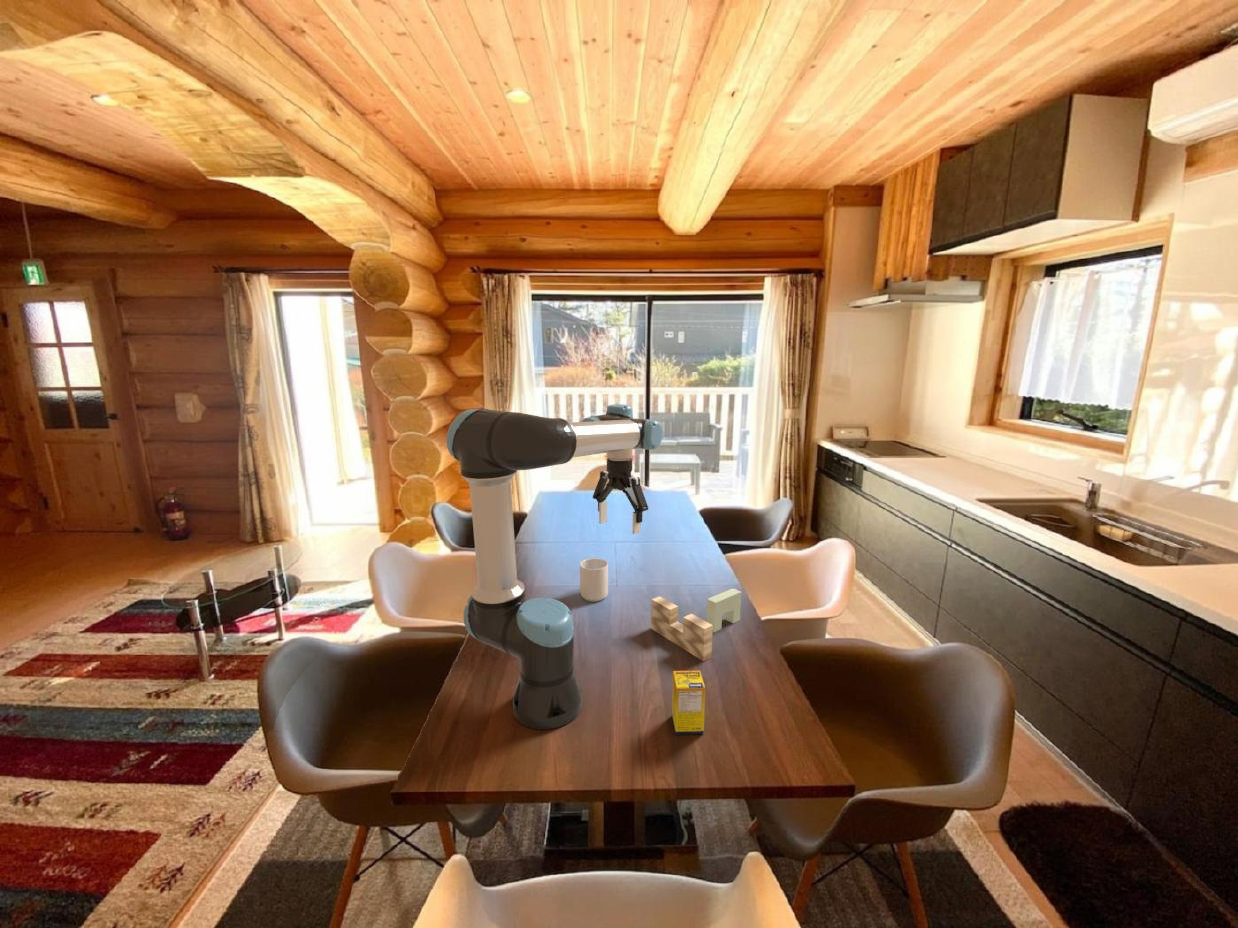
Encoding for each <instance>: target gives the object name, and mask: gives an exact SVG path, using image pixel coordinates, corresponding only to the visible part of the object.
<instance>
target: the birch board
mask: <svg viewBox="0 0 1238 928" xmlns="http://www.w3.org/2000/svg"><path fill="white" fill-rule="evenodd" d="M650 608H651V614H650V615H651V617H650V618H651V619H650V620H651V621H650V622H651V623H650V629H651V630H653V631H654V632H656V633H657V634H659V635H661V636H662V637H664V638H666V639H667V640H668V641H670V642H672V643H673V644H675V645H677V646H678V647H679V648H681V649H682V650H684V651H686V652H688V653H689V654H691V655H692V656H694V657H696V658H697V659H699V660H700V661H702V662H705V661H707V660H708V659H711V658H712V656H713V655H712V652H713V651H712V649H713V634H714V632H713V625H711V624H710V623H708V622H707V620H704V619H702V618H701V617H698V616H696V615H695V614H693V613H690V614H687V615H685V616H683V619H682V623H681V622H679V606H678V605H677V604H675V603H673V602H671V601H670V600H668V599H666V598H663V597H662V596H660V595H659V596H656V597H654V598H651V607H650Z"/></svg>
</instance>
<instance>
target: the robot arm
mask: <svg viewBox="0 0 1238 928" xmlns="http://www.w3.org/2000/svg"><path fill="white" fill-rule="evenodd" d="M633 413H634V411H633V407H632V406H631V405H629V404H609V405H607V407H606V411H605V414H599V415H591V416H588V417H584V418H583V419H581V421H574V422H573V421H572V422H569V421H568V420H566V419H564V418H560V417H557V418H555V417H554V418H553V417H552V418H551V417H544V416H540V415H539V416H538V415H533V414H529V413H523V412H519V411H518V412H514V411H503V410H496V409H495V410H494V409H489V408H477V409H476V408H474V409H472V408H471V409H466V410H465V411H462V412H460V413H459V414H458V415H457V416H456V417H455V418H454V420H453V421H452V422H451V423H450V425H449V427H448V431H447V434H446V447H447V450H448V453H449V455H450V456H452V457H453V458H454V460H456V461H458V462H459V465H460V466H459V468H460V475H461V478H463V479H464V480H465V481H466V482H467V483H468V484H469V493H470V494H469V495H470V506H471V516H472V517H471V518H472V527H473V529H472V530H473V540H474V550H475V551H474V552H475V563H476V574H477V575H476V576H477V585H476V586H475V587H474V588H473V589H472V592H471V595H470V596H469V598H468V599H467V605H466V606H464V609H463V625H464V628H465V630H466V631H467V633H468V634H469V635H470V636H471V637H472V638H474V639H475V640H477V641H478V642H480V643H483V644H484V645H486V646H490V647H493V648H494V649H497V650H499V651H501V652H503V653H506V654H508V655H510V656H513V657H515V658H517V659H518V662H519V663H518V665H519V678H518V681H517V685H516V687H515V691H514V694H513V698H512V712H513V715H514V717H515V718H516V720H517V722H519V723H520V724H521V725H523V726H525V727H528V728H531V729H535V730H551V729H556V728H560V727H562V726H565V725H567V724H569V723H570V722H572V721H574V720H575V719H576V718H577V717H578V715H579V714H580V712H581V711H582V707H583V693H582V689H581V687H580V684H579V681H578V678H577V676H576V674H575V667H574V664H575V663H574V662H575V661H574V657H575V656H574V655H575V653H574V650H575V649H574V647H575V646H574V645H575V644H574V642H575V641H574V637H575V635H574V634H575V629H574V622H573V615H572V612H571V610H570V608H569V607H568V606H567V605H566V604H565V603H563V602H561V601H559V600H557V599H555V598H550V597H546V598H543V597H534V598H530V599H527V600H526V590H525V585H524V583H523V582H522V581H521V580H519V579H518V573H517V557H516V543H515V529H514V528H515V527H514V526H515V525H514V513H513V511H514V510H513V499H512V498H513V497H512V496H513V495H512V484H511V480H512V479H513V477H514V476H515V475H516V474H517V473H518V471H529V470H535V469H541V468H546V467H547V468H548V467H553V466H557V465H563V464H567V463H568V462H570V461H572V459H573V458H578V457H587V456H591V455H593V456H594V455H599V454H606V458H607V459H606V470H602V471H600V472H599V480H598V482H597V484H596V486H595V489H594V492H593V494H592V499H593V500H596V502H597V512H598V513H599V514H598V520H599V521H598V522H599V523H598V524H600V525H601V524H604V523H606V522H608V501H607V497H608V496H609V495H610V494H611V493H612V491H613V490H618V491H621V492H622V493H623V494H625V496H626V498H627V499H628V501H629V503H630V505H631V507H632V508H633V511H632V534H633V535H636V534H638V533H639V534H640V533H641V530H642V529H641V523H642V522H643V512H646V511H648V510H649V505H648V503H647V500H646V496H645V494H644V491H643V489H642V484H641V478H640V477H639V476H636V477H632V475H631V474H632V471H633V459H632V457H633V450H636V449H641V450H645V451H646V450H652V451H653V450H656V449H658V448H659V446H660V445H661V443H662V440H663V428H662V425H661V423H660V422H659V421H658V420H654V419H653V420H652V419H649V418H647V419H644V418H643V419H642V418H634V415H633Z"/></svg>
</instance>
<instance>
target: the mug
mask: <svg viewBox="0 0 1238 928" xmlns="http://www.w3.org/2000/svg"><path fill="white" fill-rule="evenodd" d="M579 585H580V586H579V587H580V588H579V589H580V590H579V591H580V592H579V593H580V596H581V598H583V600H585V601H588V602H591V603H593V602H595V603H597V602H600V601H602V600H605V598H607V596H608V594H609V562H608V561H607V560H604V559H602V558H586V559H584V560H582V561H580V564H579Z"/></svg>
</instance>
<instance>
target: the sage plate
mask: <svg viewBox="0 0 1238 928" xmlns="http://www.w3.org/2000/svg"><path fill="white" fill-rule="evenodd" d="M706 601H707V602H706V603H707V604H706V622H708V623H710V624H711V625H713V633H717V632H718V631H721V630H722V625H723V624H722V623H723V622H722V621H723V615H724V620H725V621H727V622H730V623H731V624H735V623H737V622H739V621H740V620H741V605H742V604H741V603H742V590H741V591H740V590H739V589H736V588H731V589H727V590H726V591H723V592H721V593H719V594H716V595H713V596H712V597H708V598H707V599H706Z"/></svg>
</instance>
